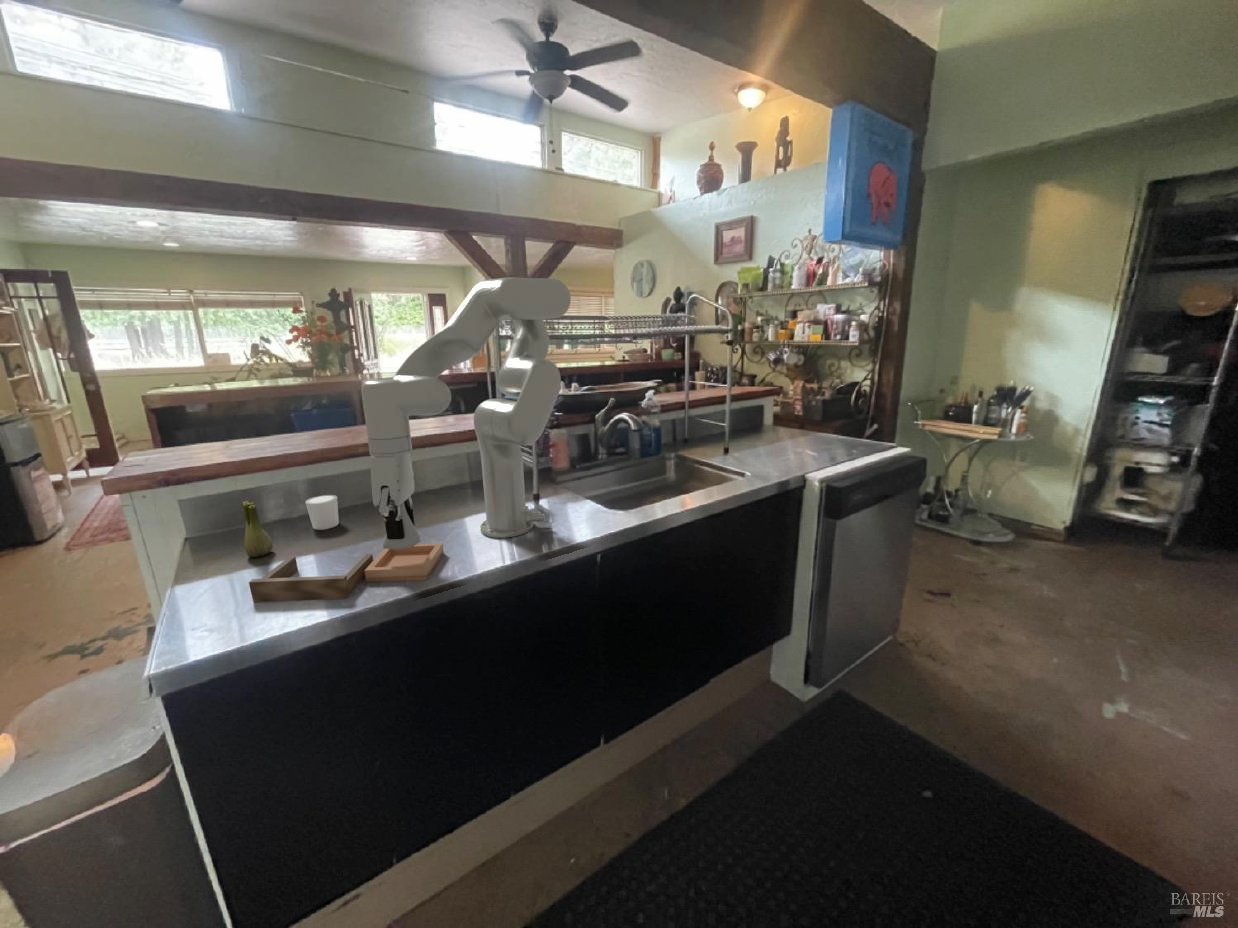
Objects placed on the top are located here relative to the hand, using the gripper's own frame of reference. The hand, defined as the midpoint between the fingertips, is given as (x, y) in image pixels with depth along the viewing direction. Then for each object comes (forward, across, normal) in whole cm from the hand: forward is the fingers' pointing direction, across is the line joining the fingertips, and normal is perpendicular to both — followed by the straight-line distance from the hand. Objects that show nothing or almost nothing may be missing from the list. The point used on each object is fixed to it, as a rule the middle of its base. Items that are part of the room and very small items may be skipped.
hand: (401, 532), depth 100 cm
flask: (+3, 0, 0) cm, 3 cm away
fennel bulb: (+8, -9, -34) cm, 36 cm away
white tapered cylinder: (+8, -25, -28) cm, 39 cm away
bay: (+8, +6, -15) cm, 18 cm away
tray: (+8, 0, 0) cm, 8 cm away
